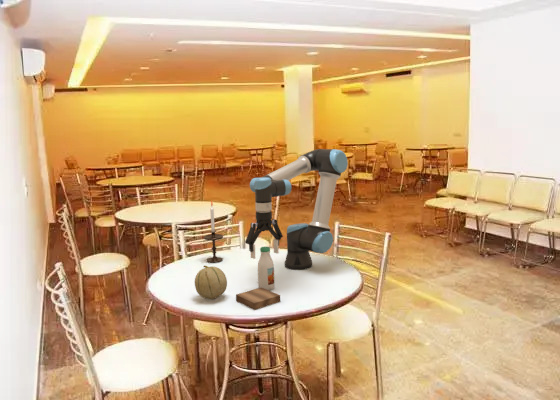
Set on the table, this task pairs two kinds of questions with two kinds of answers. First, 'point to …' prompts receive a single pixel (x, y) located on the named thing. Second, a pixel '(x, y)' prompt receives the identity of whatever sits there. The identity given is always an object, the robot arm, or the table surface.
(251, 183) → the robot arm
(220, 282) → the cantaloupe
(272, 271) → the milk bottle
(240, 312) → the table surface
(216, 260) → the candlestick
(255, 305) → the block
